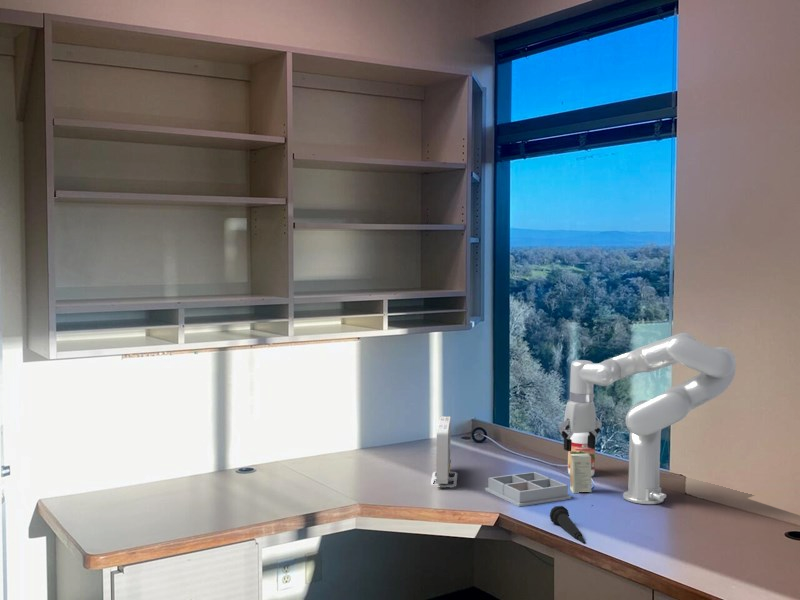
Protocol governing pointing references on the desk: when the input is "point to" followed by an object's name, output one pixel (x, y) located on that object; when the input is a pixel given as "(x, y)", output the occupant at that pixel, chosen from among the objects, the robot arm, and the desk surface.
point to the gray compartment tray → (527, 489)
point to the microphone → (565, 522)
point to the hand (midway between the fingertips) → (579, 449)
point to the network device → (443, 454)
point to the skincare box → (580, 473)
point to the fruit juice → (581, 449)
